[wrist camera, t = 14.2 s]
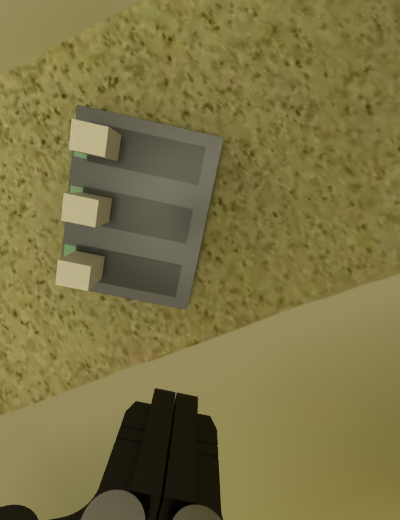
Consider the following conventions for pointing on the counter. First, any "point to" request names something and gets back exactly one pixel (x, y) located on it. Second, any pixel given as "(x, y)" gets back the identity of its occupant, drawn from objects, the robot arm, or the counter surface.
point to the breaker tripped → (86, 209)
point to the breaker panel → (146, 207)
